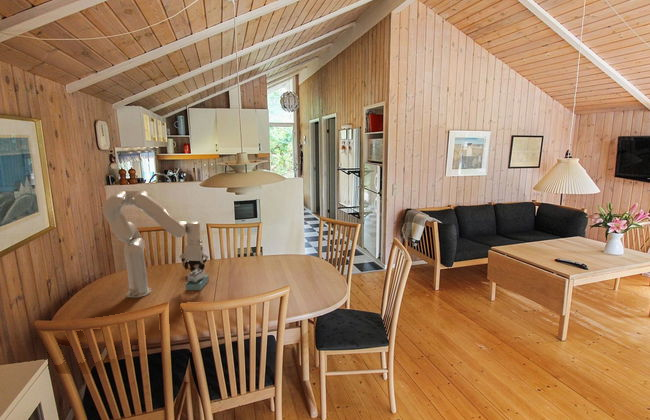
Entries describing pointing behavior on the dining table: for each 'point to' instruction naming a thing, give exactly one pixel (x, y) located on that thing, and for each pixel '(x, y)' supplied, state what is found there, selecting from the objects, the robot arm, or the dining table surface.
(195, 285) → the stand
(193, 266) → the coffee mug
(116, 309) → the dining table surface
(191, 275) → the housing
